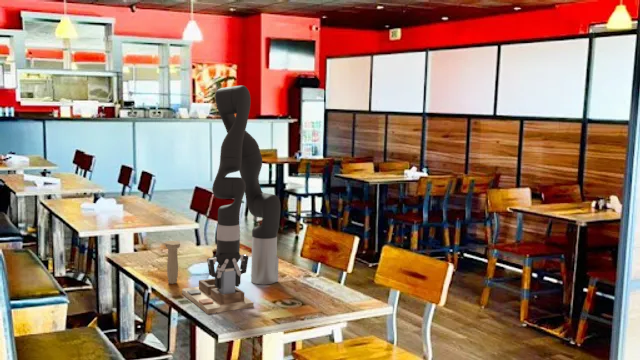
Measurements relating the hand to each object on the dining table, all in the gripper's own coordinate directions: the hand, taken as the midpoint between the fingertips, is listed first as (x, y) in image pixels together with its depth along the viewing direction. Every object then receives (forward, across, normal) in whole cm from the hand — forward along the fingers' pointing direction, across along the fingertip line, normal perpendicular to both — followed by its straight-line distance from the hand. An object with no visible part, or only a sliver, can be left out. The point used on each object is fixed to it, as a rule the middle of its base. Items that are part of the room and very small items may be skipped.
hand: (227, 287), depth 216 cm
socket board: (+6, +2, -6) cm, 8 cm away
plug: (+4, 0, 0) cm, 4 cm away
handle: (+6, +8, -30) cm, 32 cm away
